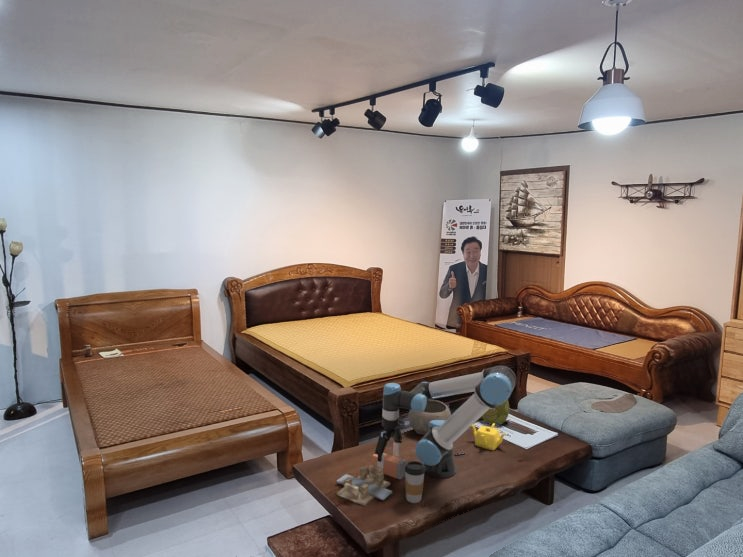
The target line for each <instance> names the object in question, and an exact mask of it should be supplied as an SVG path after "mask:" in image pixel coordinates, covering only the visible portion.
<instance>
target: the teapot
mask: <svg viewBox="0 0 743 557" xmlns="http://www.w3.org/2000/svg"><path fill="white" fill-rule="evenodd" d="M495 426H496V425H495V423H493V424H491V426H485V425H482V426H480V427H479V428H478V429H476V425H473V424H472V425H471V426H470V427H471V428H472V432H473V436H474V445H475V446H477V447H479V448H481V447H482V449H485V450H489V449H490V451H495V450H496V449H497V448H498V447H499V446H500V444H502V442H503V440H504V437H505V436H506V435H507V433H505V432H503V433H500V430H499V429H497V428H495Z"/></svg>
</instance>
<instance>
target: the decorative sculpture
mask: <svg viewBox="0 0 743 557" xmlns="http://www.w3.org/2000/svg"><path fill="white" fill-rule="evenodd" d="M509 413H510V404H509V398H508V399H507V400H506V401H505V402H503V403H502V404H500V405H499V406H498V407H497V408H495V409H489V410H488V411H486V412H485V413H484V414H483V415H482V416H481V418H482V419H483V421H484V422H485V423H487V422H488V423H487V424H489V423H491V424H490V425H492V424H493V423H495V424H499V425H503V424H504V423H505V422H506V421H507V419H508V417H509V415H510V414H509Z"/></svg>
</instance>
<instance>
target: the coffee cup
mask: <svg viewBox="0 0 743 557" xmlns="http://www.w3.org/2000/svg"><path fill="white" fill-rule="evenodd" d="M423 464H424V463H422V462H421V461H418V460H417V461H416V460H412V461H411V460H410V461H408V462H406V466H405V476H404V477H405V479H404V480H405V481H404V482H405V498H406V501H407V502H409V503H412V504H417V503H420V502H421V501H422V496H423V491H424V489H423V488H424V481H425V480H424V479H425V478H424V477H425V473H426V472H425V468H424V465H423Z"/></svg>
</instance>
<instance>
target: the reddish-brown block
mask: <svg viewBox="0 0 743 557" xmlns="http://www.w3.org/2000/svg"><path fill="white" fill-rule="evenodd" d="M383 454H384V463H383V469H382V468H381V469H382V472H383V473H384V475H387V476H389V477H391V478H394V479H398V480H402V479H403V478H404V477H405V466H406V464H407V459H404V458H400V457H396V456H393V455H391V454H388V453H385V452H383ZM371 458H372V459H371V460H372V461H371V462H372V464H371V465H372V466H375V467H377V461H378V455H377V454H375V453H374V454H372V456H371ZM378 468H379V467H378Z"/></svg>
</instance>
